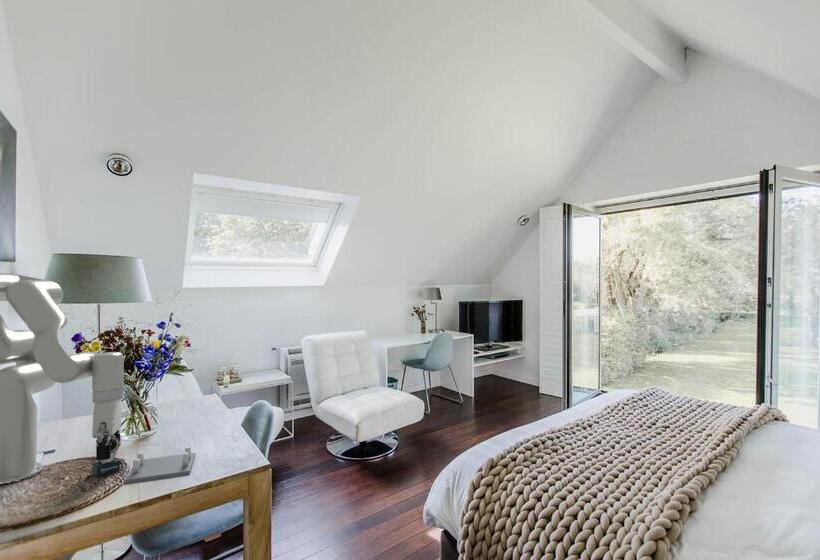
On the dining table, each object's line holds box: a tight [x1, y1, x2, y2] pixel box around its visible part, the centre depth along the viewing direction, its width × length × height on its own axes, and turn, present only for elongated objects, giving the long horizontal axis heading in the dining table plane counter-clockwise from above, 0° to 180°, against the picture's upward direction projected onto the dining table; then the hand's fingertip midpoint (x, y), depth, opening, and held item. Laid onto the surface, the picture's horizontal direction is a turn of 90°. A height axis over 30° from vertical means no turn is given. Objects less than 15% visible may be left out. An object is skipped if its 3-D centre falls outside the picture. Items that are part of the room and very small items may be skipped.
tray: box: [124, 446, 196, 484], centre depth 123 cm, size 16×14×4 cm
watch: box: [91, 435, 122, 479], centre depth 121 cm, size 6×8×11 cm
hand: (108, 453), depth 121 cm, fingers open, 9 cm apart
